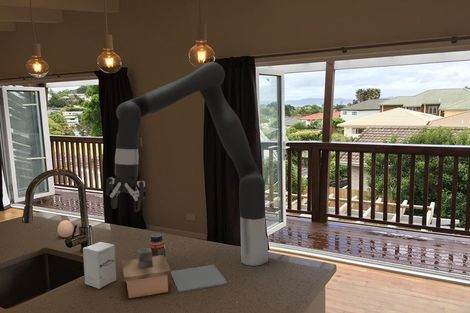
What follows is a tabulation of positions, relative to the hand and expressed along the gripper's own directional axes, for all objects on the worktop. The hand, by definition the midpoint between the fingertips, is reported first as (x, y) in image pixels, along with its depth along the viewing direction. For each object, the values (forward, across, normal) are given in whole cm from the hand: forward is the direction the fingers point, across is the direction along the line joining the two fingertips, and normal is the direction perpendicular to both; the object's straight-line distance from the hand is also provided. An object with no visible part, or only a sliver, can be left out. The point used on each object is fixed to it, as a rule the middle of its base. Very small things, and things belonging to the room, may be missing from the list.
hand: (125, 209), depth 133 cm
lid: (+17, -11, +4) cm, 21 cm away
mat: (+22, -25, -6) cm, 34 cm away
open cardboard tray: (+23, -11, +4) cm, 26 cm away
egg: (+25, +50, -31) cm, 64 cm away
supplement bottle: (+23, -6, -13) cm, 27 cm away
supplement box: (+24, +5, +5) cm, 26 cm away
